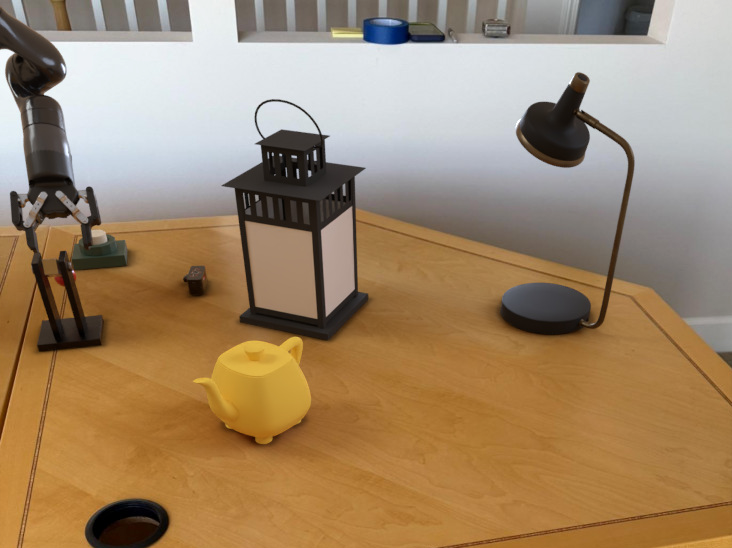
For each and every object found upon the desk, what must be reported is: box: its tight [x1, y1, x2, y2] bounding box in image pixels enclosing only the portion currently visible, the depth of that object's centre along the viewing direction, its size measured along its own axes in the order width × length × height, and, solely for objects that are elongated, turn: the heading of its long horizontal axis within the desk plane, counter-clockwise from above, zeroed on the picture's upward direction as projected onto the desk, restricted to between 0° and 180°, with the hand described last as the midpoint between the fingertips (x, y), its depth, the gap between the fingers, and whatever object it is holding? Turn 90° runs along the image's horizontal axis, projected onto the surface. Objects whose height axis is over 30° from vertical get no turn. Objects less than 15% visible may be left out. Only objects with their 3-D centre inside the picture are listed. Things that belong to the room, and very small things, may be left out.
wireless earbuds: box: [182, 265, 208, 296], centre depth 146 cm, size 5×7×3 cm, turn 3°
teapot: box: [192, 336, 312, 445], centre depth 109 cm, size 13×20×12 cm
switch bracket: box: [30, 250, 105, 352], centre depth 128 cm, size 9×10×14 cm
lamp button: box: [91, 229, 107, 245], centre depth 153 cm, size 4×4×2 cm
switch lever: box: [42, 257, 77, 288], centre depth 129 cm, size 13×4×4 cm
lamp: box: [499, 71, 636, 336], centre depth 127 cm, size 16×22×38 cm
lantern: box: [221, 98, 369, 341], centre depth 129 cm, size 17×17×35 cm
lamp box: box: [71, 233, 129, 271], centre depth 155 cm, size 10×8×4 cm
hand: (61, 249), depth 135 cm, fingers open, 8 cm apart
